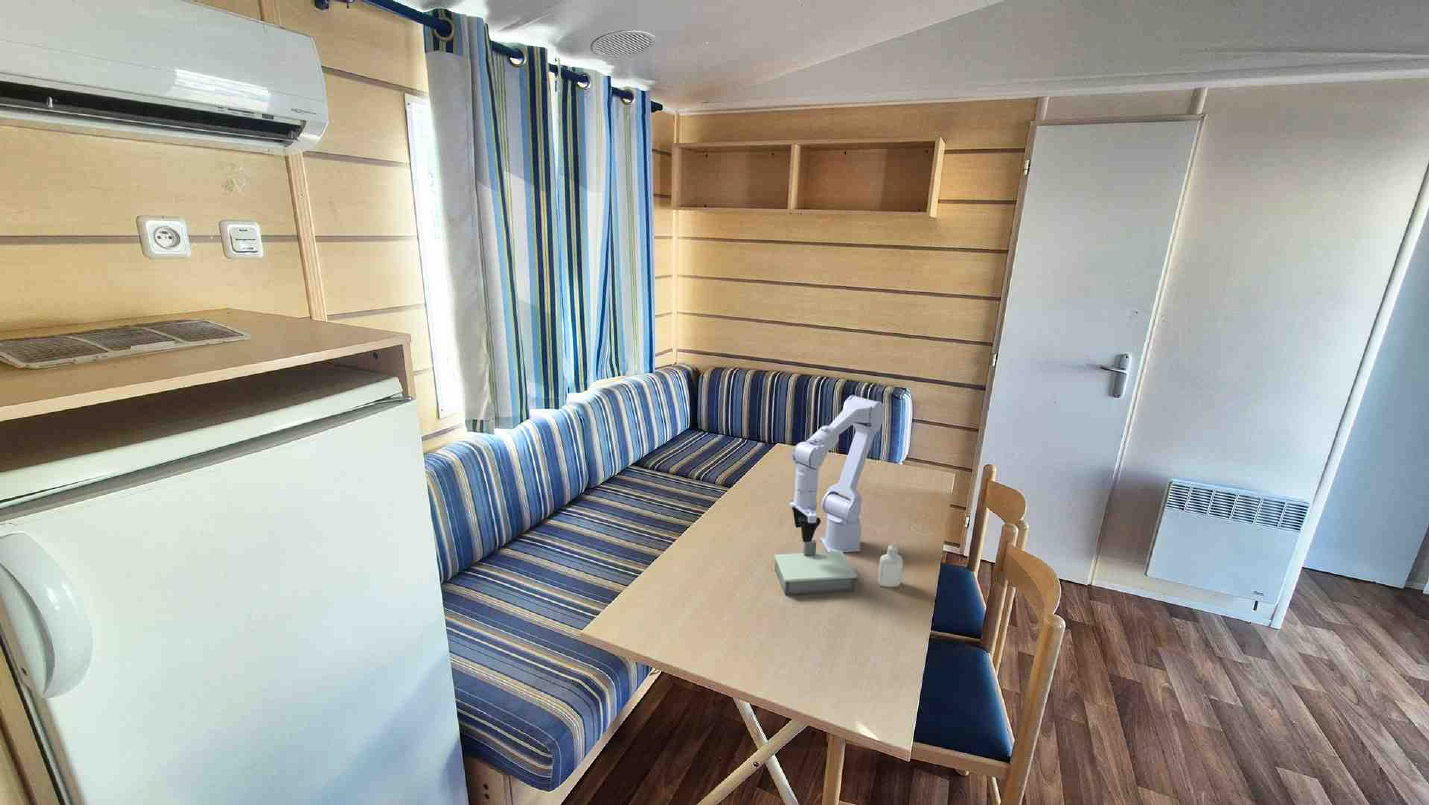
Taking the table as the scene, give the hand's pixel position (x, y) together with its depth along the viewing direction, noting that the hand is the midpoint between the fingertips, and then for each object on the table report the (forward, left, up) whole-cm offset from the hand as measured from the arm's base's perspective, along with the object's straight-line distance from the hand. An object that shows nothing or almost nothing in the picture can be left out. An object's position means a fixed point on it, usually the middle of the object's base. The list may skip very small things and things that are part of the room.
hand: (803, 534), depth 153 cm
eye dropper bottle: (-21, +10, -10) cm, 25 cm away
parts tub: (-2, +6, -10) cm, 12 cm away
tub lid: (-2, +6, -6) cm, 9 cm away
